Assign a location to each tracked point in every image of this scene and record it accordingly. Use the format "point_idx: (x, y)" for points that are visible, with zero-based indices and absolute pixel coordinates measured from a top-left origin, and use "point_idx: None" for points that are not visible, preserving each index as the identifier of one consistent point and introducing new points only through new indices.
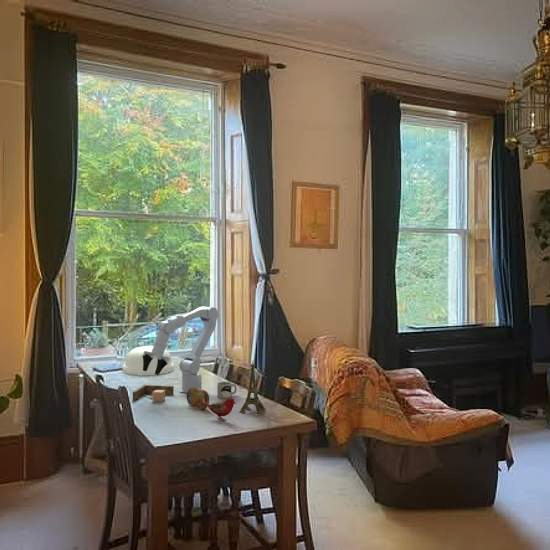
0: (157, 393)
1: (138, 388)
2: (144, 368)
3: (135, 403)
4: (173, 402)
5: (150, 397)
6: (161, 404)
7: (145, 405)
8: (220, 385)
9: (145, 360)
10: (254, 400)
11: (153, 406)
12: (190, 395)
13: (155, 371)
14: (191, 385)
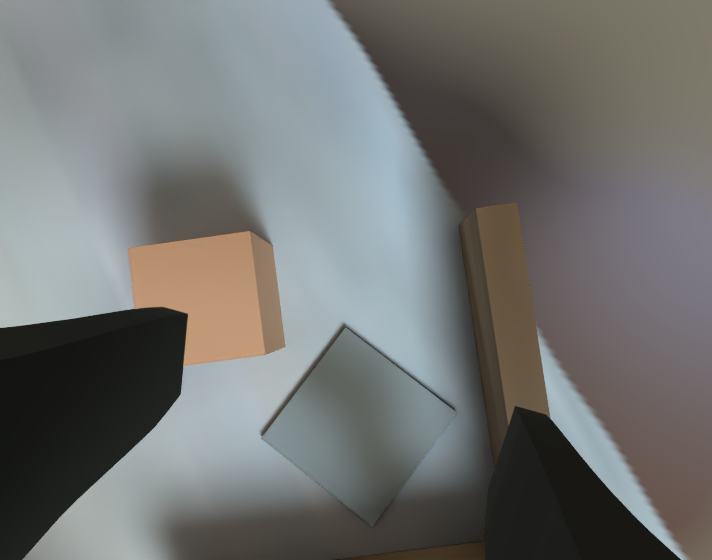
0: (190, 240)
1: (539, 390)
2: (517, 441)
3: (402, 123)
4: (52, 278)
5: (361, 372)
6: (135, 170)
7: (270, 87)
8: None
9: (578, 551)
10: None
11: (178, 79)
12: None
13: (148, 318)
14: None
